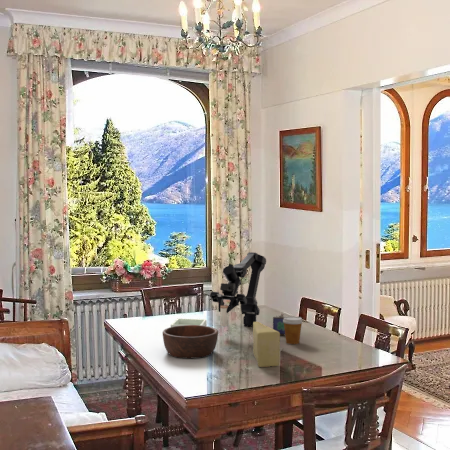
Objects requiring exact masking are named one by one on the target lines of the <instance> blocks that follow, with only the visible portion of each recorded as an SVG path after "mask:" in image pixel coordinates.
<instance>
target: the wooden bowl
mask: <svg viewBox="0 0 450 450" xmlns="http://www.w3.org/2000/svg"><path fill="white" fill-rule="evenodd" d="M162 338H163V344H164V348H165V351H166V352H167V353H168V354H169V355H170V356H171V357H175V358H180V359H201V358H205V357H206V358H207V357H209V356H211V354H213V353H214V351H215V349H216V346H217V342H218V338H219V330H218V329H217V328H215V327H211V326H202V325H181V326H174V327H171V326H170V327H167V328H165V329H163V330H162Z"/></svg>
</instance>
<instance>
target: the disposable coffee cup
mask: <svg viewBox="0 0 450 450" xmlns="http://www.w3.org/2000/svg"><path fill="white" fill-rule="evenodd" d="M303 321H304V320H303V318H302V317H301V316H295V315H293V316H292V315H290V316H284V320H283V322H284V329H285V335H284V336H285V343H286V344H287V345H288V344H289V345H298V344H300V338H301V332H302V324H303Z"/></svg>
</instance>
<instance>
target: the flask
mask: <svg viewBox="0 0 450 450" xmlns="http://www.w3.org/2000/svg"><path fill="white" fill-rule="evenodd" d="M284 317H285V315H284V313H280V315H276V316H273V317H272V329H274V330H276V331H278V332H279V333H280V336H282V335H283V336H285V329H284V322H283V320H284Z"/></svg>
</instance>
